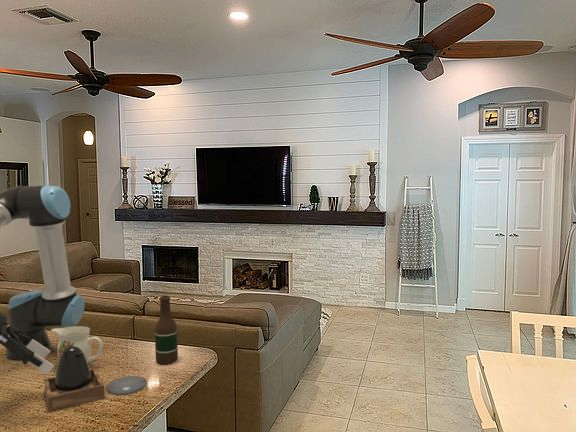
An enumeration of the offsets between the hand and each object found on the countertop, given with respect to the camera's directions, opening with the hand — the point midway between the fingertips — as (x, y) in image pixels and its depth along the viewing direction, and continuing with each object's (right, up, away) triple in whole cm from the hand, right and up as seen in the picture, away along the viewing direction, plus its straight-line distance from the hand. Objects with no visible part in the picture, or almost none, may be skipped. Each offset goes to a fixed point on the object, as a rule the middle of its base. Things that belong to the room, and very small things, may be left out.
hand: (48, 362), depth 135 cm
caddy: (+5, -12, +5) cm, 14 cm away
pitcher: (-3, -10, +26) cm, 28 cm away
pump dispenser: (+5, -12, +5) cm, 14 cm away
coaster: (+19, -11, +11) cm, 25 cm away
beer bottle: (+27, -10, +31) cm, 42 cm away
